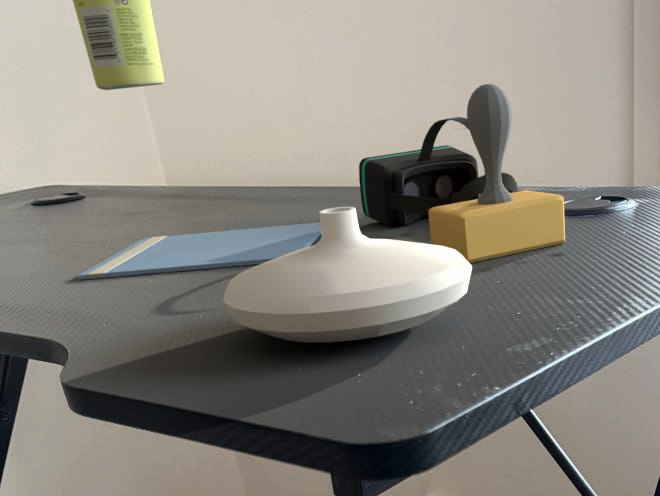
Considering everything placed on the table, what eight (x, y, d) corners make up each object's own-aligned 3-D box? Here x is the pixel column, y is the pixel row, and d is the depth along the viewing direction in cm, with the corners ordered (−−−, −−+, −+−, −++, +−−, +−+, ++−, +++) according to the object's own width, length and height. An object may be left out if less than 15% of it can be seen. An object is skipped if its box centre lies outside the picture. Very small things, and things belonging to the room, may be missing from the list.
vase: (196, 336, 62) (168, 222, 58) (396, 287, 69) (382, 182, 65) (301, 384, 51) (274, 247, 47) (526, 320, 58) (519, 196, 54)
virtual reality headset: (455, 201, 100) (451, 95, 93) (544, 239, 89) (546, 121, 82) (362, 218, 95) (352, 108, 89) (443, 260, 84) (438, 137, 78)
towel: (77, 280, 83) (76, 275, 83) (144, 242, 98) (143, 237, 98) (296, 260, 82) (295, 255, 81) (330, 225, 97) (329, 220, 96)
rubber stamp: (465, 265, 74) (449, 90, 67) (431, 256, 78) (413, 91, 71) (567, 243, 77) (562, 76, 71) (529, 235, 82) (521, 77, 75)
